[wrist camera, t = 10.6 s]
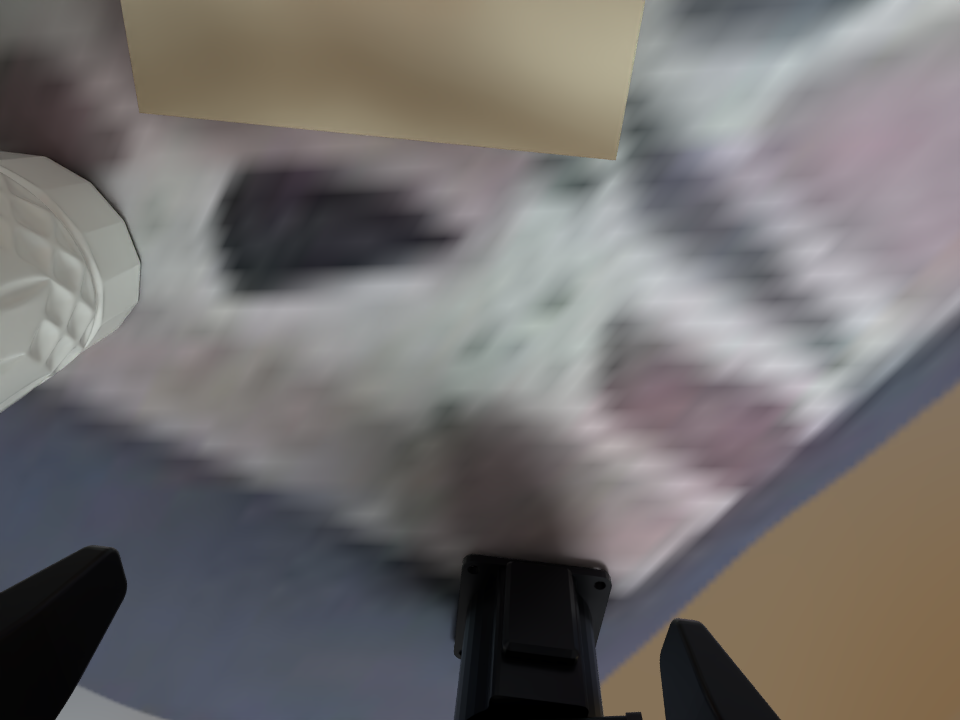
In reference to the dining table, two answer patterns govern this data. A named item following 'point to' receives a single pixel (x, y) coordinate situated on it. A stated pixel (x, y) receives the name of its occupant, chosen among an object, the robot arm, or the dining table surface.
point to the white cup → (56, 271)
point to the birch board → (395, 67)
